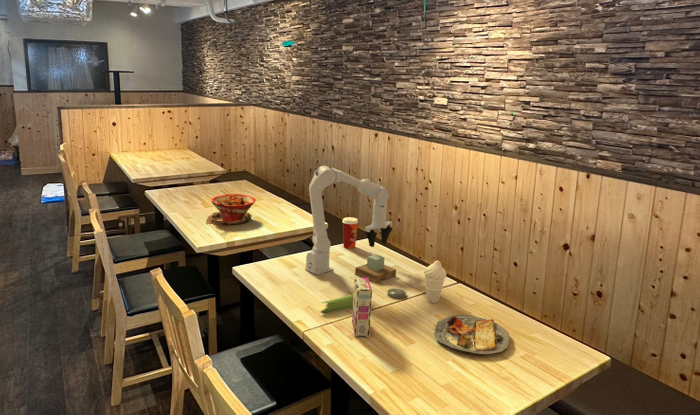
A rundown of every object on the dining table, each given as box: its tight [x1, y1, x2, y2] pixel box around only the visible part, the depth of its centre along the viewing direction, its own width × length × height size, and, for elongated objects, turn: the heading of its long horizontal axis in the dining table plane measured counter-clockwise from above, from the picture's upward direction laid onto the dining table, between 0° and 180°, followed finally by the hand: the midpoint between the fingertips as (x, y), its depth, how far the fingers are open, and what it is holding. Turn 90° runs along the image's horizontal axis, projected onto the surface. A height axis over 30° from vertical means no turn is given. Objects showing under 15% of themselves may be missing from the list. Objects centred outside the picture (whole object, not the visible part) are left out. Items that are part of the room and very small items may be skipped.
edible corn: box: [320, 293, 354, 314], centre depth 191 cm, size 5×20×5 cm
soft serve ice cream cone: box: [423, 260, 447, 304], centre depth 199 cm, size 8×8×16 cm
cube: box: [366, 253, 385, 272], centre depth 222 cm, size 5×5×5 cm
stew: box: [205, 193, 256, 227], centre depth 289 cm, size 28×24×16 cm
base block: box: [354, 263, 397, 284], centre depth 222 cm, size 12×12×3 cm
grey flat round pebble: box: [386, 288, 407, 300], centre depth 204 cm, size 7×7×2 cm
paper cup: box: [341, 216, 359, 250], centre depth 255 cm, size 8×8×14 cm
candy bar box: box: [351, 276, 373, 338], centre depth 174 cm, size 11×5×16 cm, turn 5°
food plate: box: [433, 314, 510, 355], centre depth 173 cm, size 25×23×4 cm
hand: (377, 244), depth 231 cm, fingers open, 7 cm apart
